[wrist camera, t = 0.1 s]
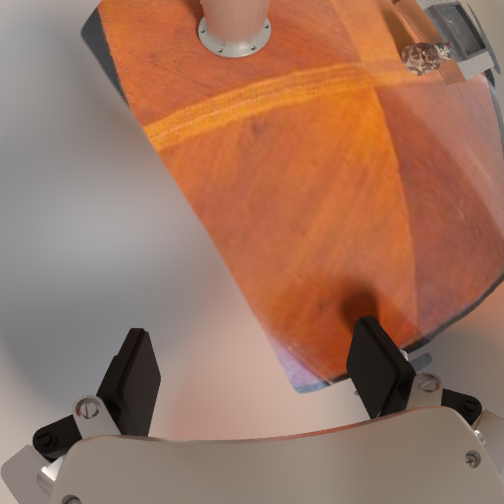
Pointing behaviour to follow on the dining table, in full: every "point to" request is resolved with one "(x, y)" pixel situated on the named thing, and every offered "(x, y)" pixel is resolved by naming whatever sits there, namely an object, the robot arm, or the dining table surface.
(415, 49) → the figurine
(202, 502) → the robot arm
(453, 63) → the grey box with knob
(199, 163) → the dining table surface
